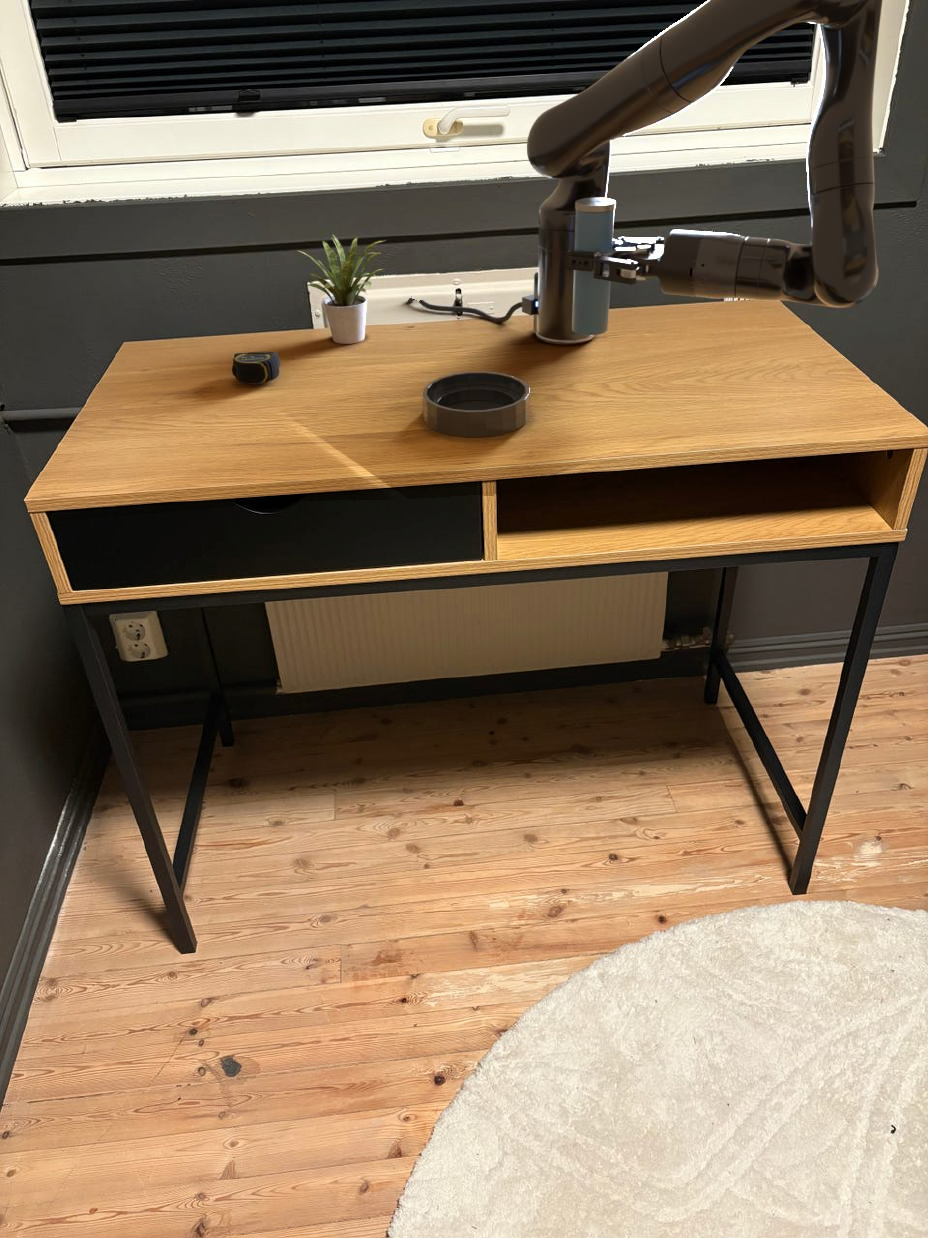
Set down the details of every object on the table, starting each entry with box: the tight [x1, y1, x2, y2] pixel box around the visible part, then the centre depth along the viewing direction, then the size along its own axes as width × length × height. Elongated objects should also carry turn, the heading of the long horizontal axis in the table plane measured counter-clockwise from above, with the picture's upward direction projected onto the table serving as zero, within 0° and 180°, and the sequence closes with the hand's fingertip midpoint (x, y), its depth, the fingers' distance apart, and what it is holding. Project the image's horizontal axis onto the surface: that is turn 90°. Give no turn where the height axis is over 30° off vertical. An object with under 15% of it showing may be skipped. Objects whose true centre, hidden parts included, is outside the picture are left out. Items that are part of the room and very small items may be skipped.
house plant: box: [298, 233, 387, 345], centre depth 150 cm, size 14×14×16 cm
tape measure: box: [231, 351, 281, 385], centre depth 140 cm, size 7×7×4 cm
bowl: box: [421, 370, 531, 438], centre depth 126 cm, size 14×14×4 cm
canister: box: [572, 197, 617, 336], centre depth 121 cm, size 5×5×16 cm
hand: (573, 254), depth 122 cm, fingers closed on canister, 5 cm apart
